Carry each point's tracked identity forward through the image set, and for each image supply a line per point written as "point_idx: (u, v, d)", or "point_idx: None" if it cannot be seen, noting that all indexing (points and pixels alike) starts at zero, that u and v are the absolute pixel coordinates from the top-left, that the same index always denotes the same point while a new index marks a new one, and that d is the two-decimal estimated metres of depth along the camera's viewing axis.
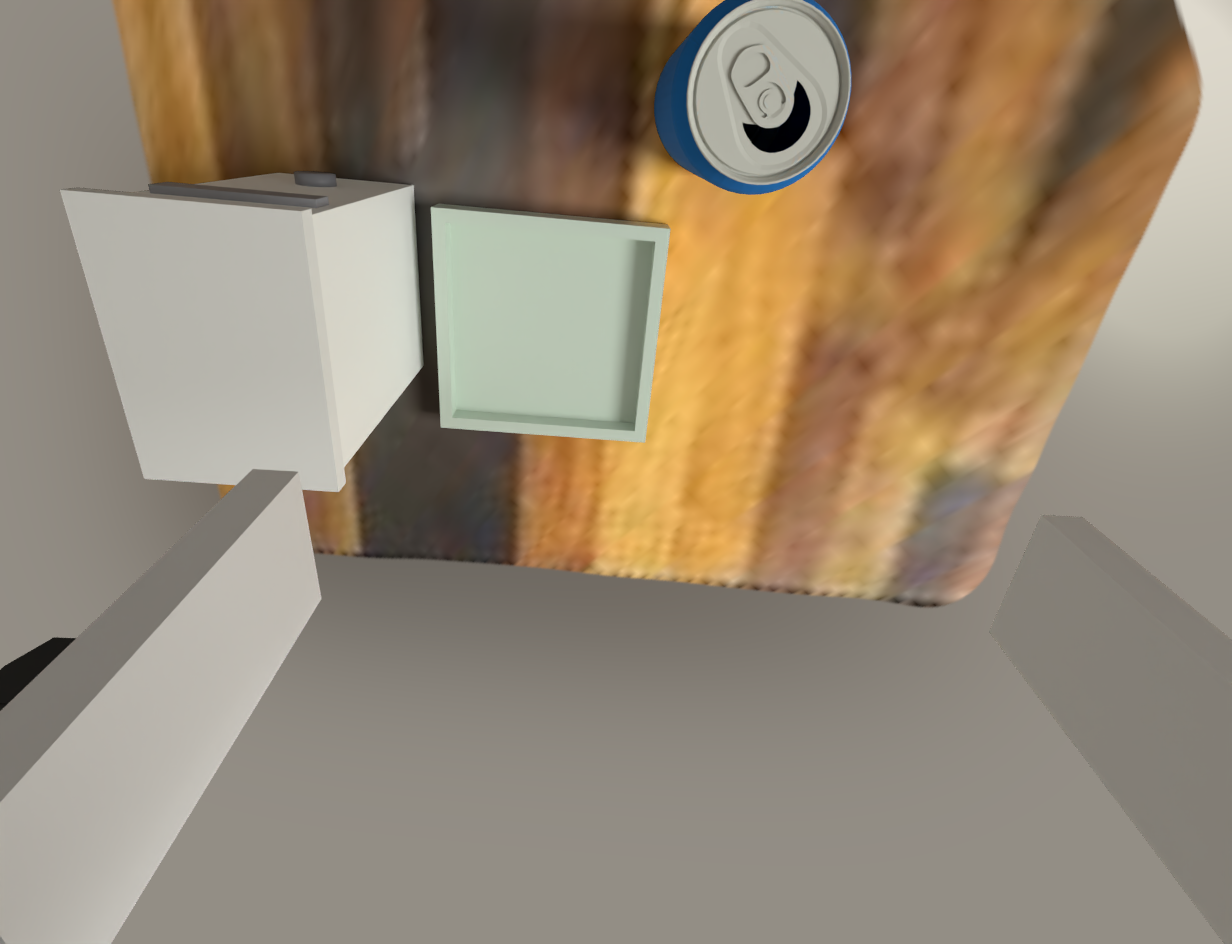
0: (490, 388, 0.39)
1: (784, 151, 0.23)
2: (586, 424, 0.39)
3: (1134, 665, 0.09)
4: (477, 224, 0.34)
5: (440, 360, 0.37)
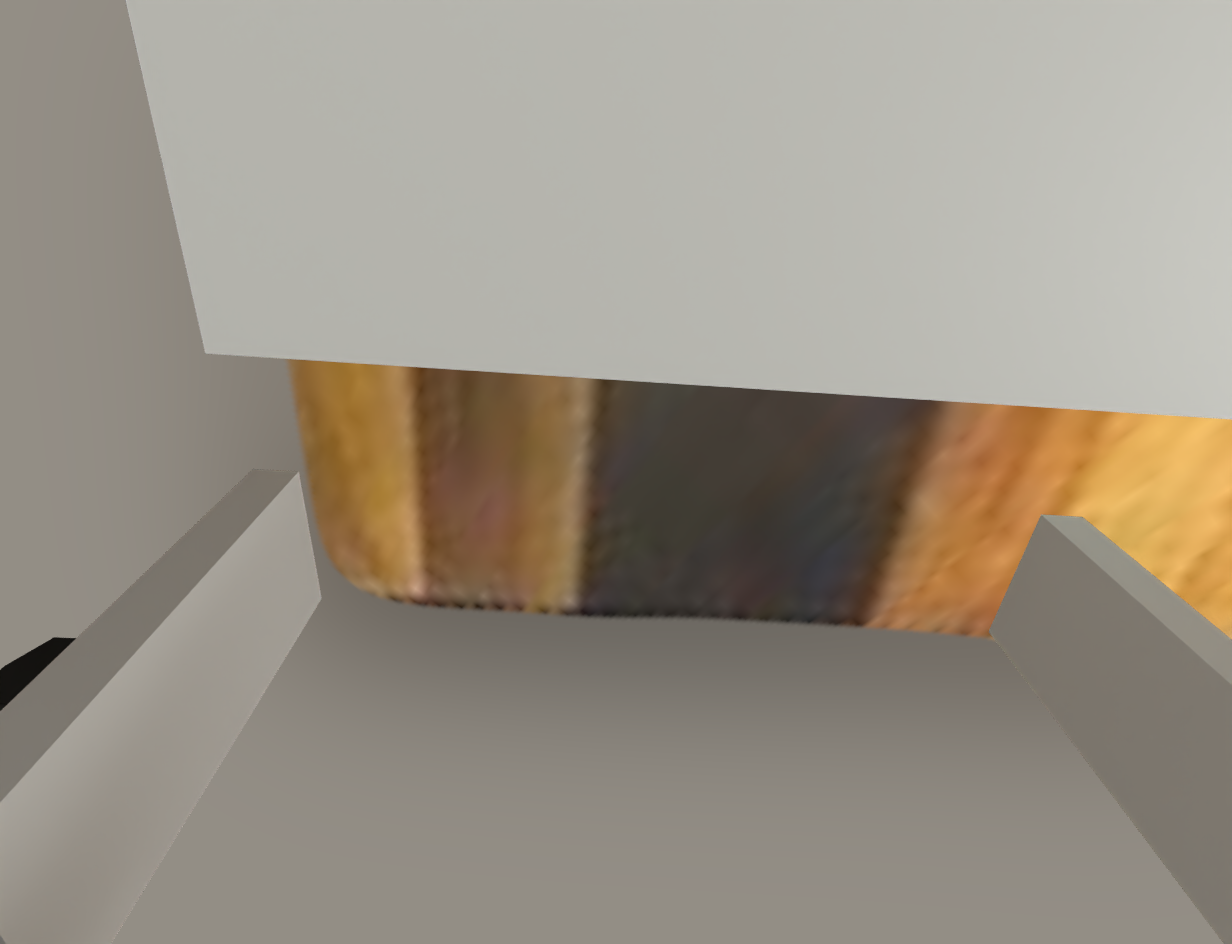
0: None
1: None
2: None
3: (1134, 665, 0.09)
4: None
5: None
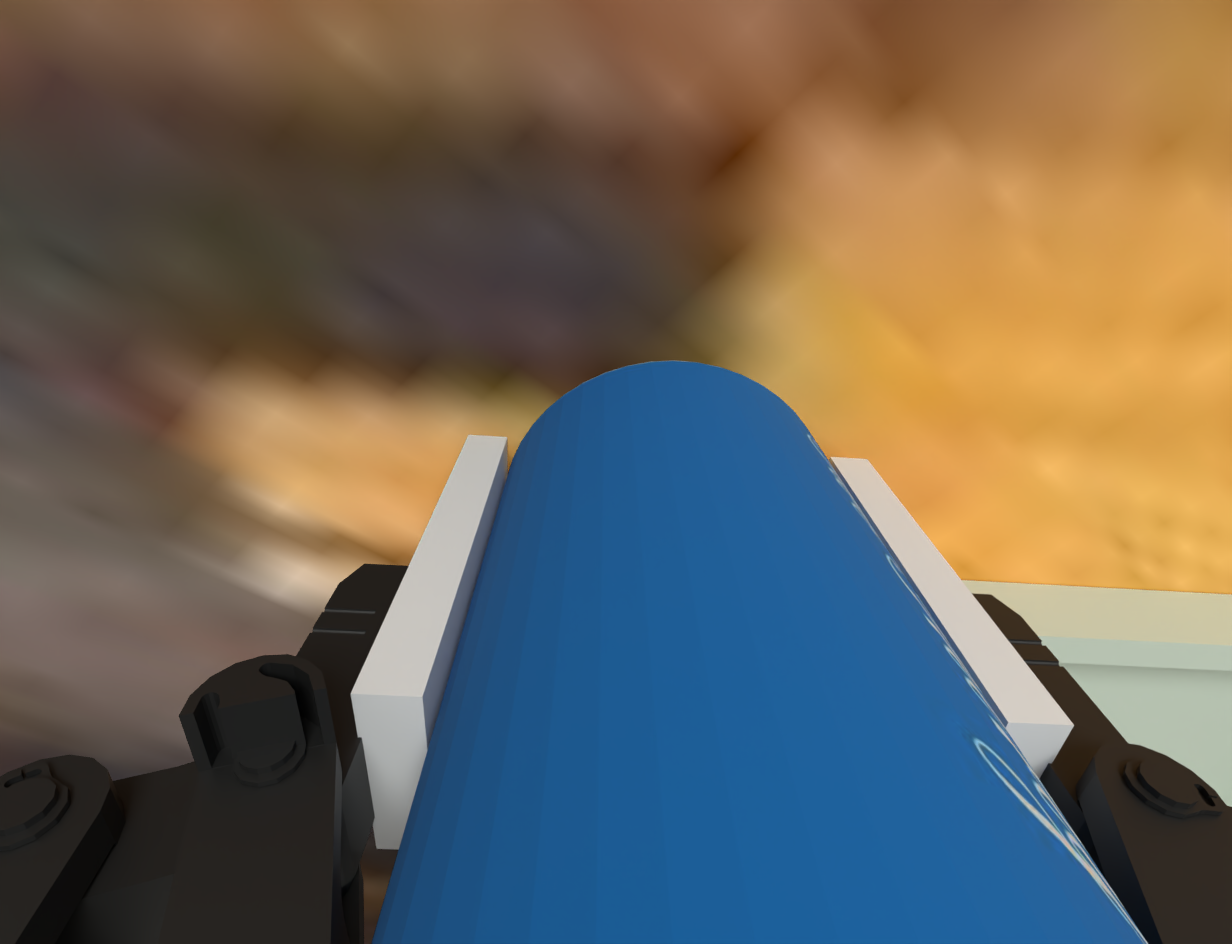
0: None
1: None
2: None
3: None
4: None
5: None
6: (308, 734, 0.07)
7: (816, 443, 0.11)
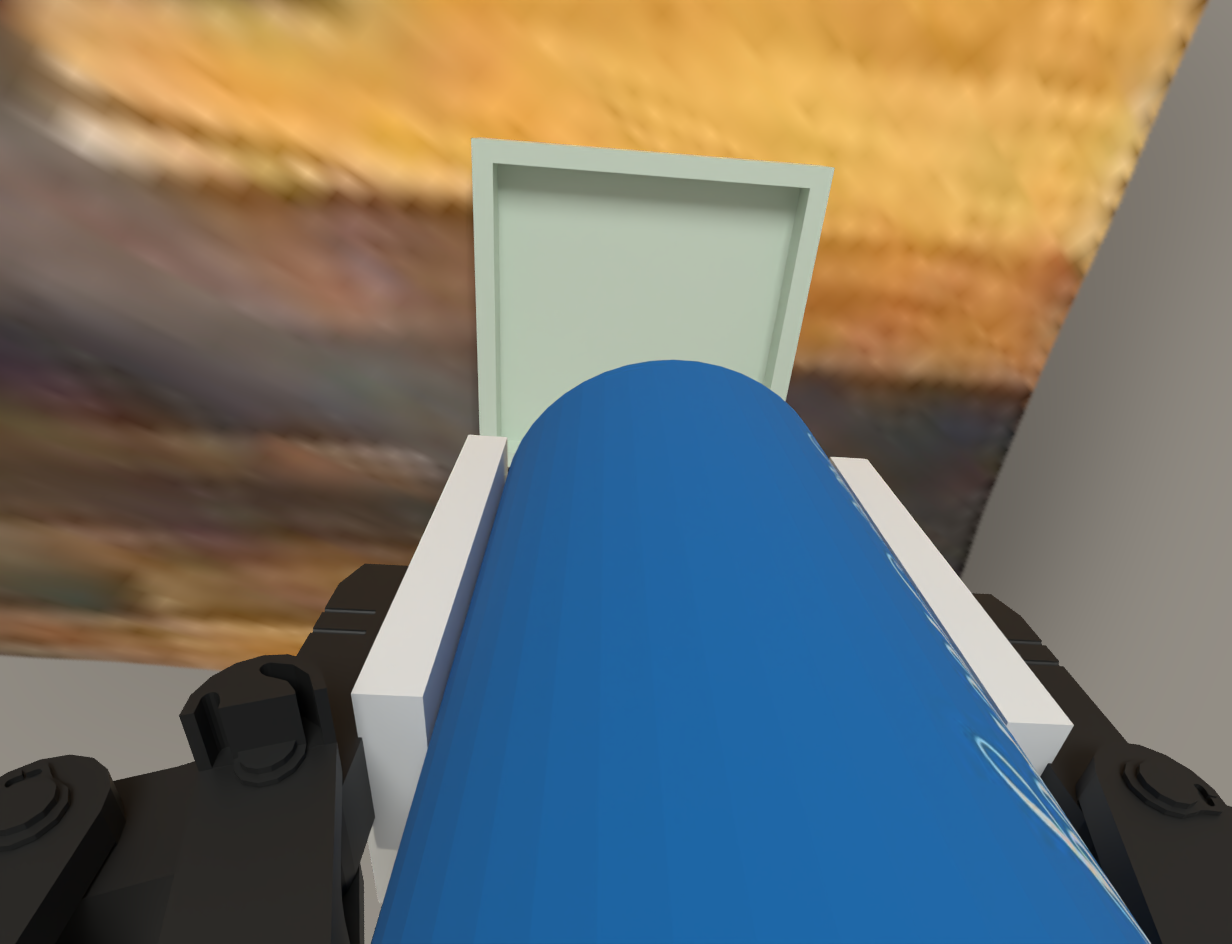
0: None
1: None
2: (789, 272, 0.24)
3: None
4: (494, 414, 0.26)
5: None
6: (308, 734, 0.07)
7: (816, 442, 0.11)
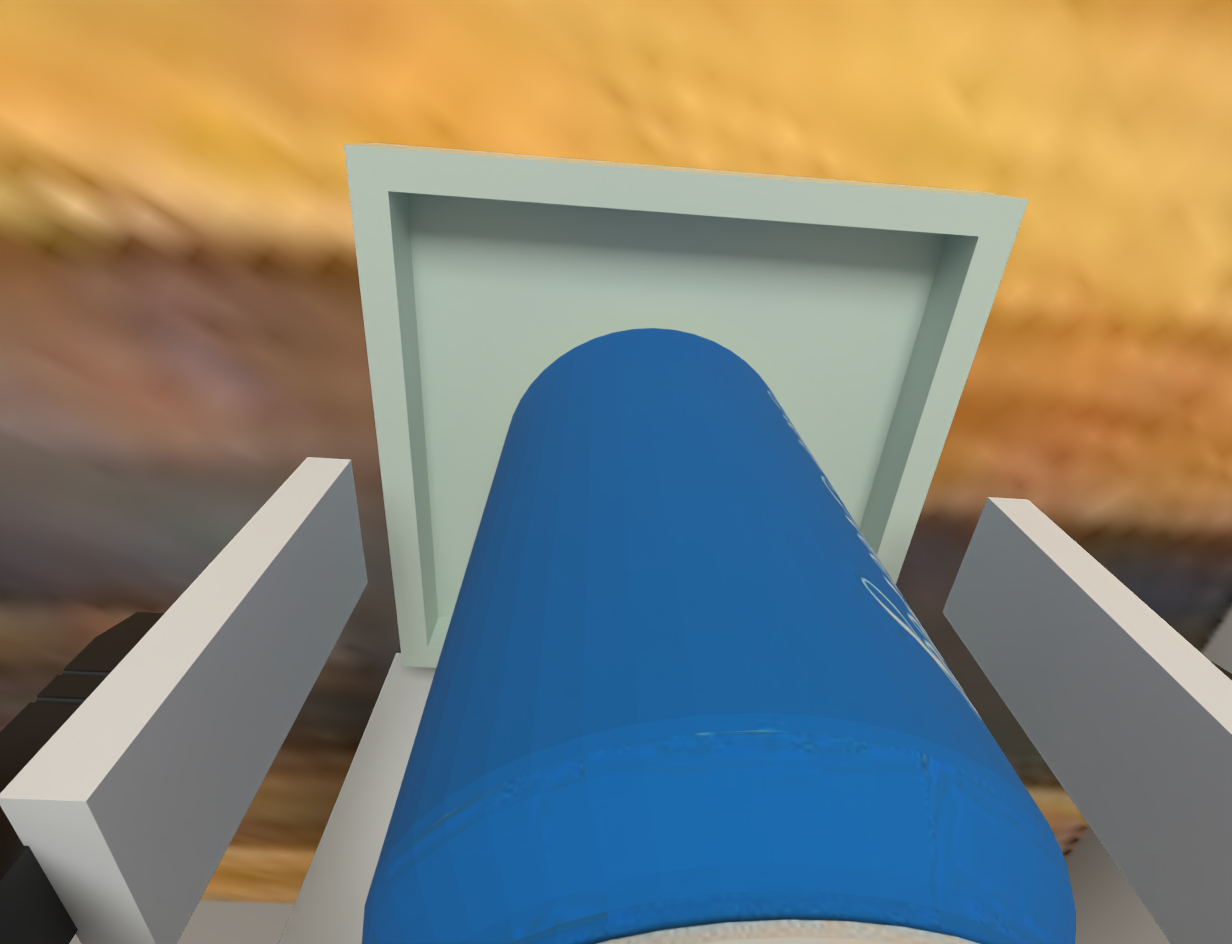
0: None
1: None
2: (921, 376, 0.14)
3: (1065, 637, 0.10)
4: (420, 596, 0.16)
5: None
6: None
7: (776, 399, 0.13)
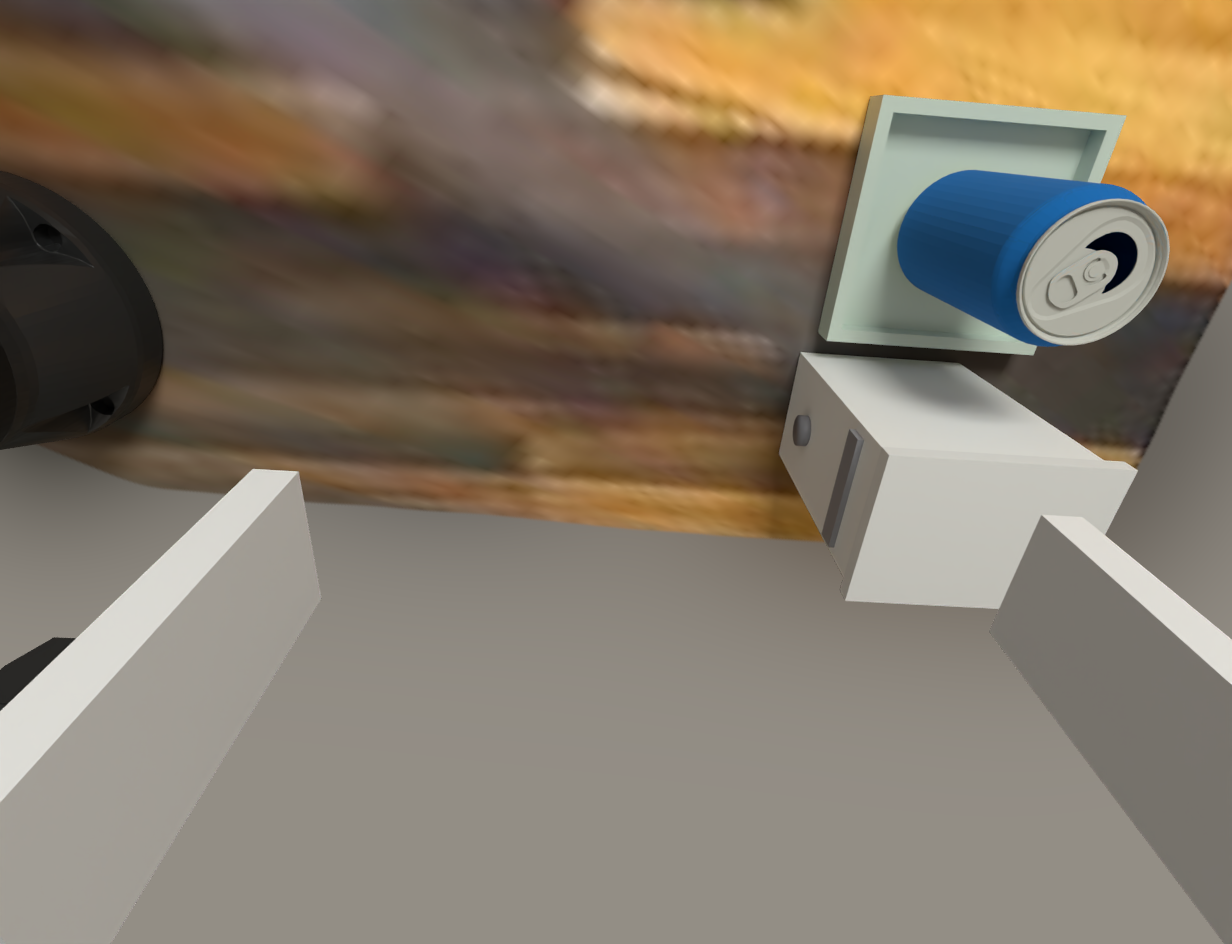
0: None
1: (1138, 252, 0.25)
2: None
3: (1134, 665, 0.09)
4: (847, 300, 0.36)
5: (964, 347, 0.38)
6: None
7: None
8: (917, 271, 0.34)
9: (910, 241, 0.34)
